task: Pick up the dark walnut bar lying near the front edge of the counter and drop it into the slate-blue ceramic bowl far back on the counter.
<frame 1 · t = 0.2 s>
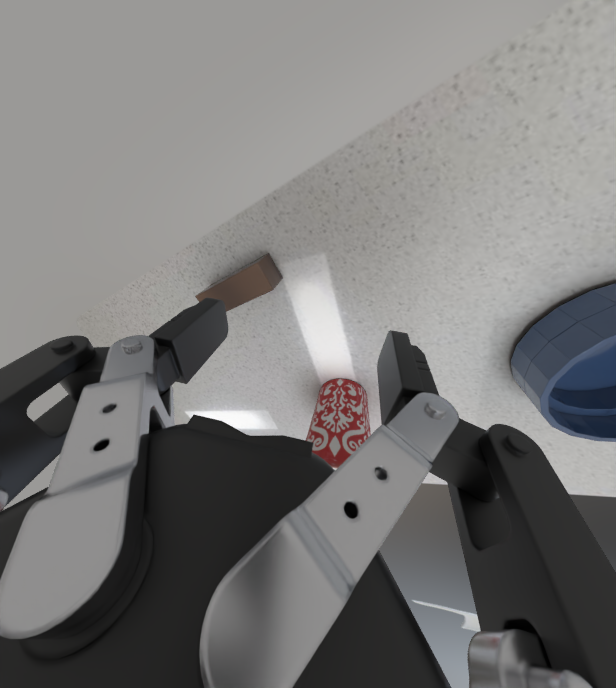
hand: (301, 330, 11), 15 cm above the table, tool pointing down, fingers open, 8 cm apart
bar: (245, 281, 27), on the table
bowl: (599, 346, 23), on the table
mug: (343, 401, 36), on the table
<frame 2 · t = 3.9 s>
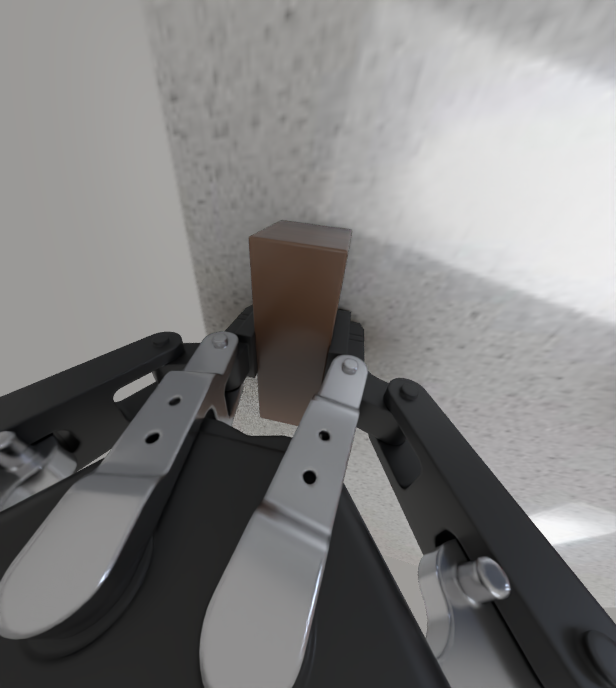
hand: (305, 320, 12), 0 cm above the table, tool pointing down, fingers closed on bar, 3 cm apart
bar: (306, 319, 12), on the table, touching gripper
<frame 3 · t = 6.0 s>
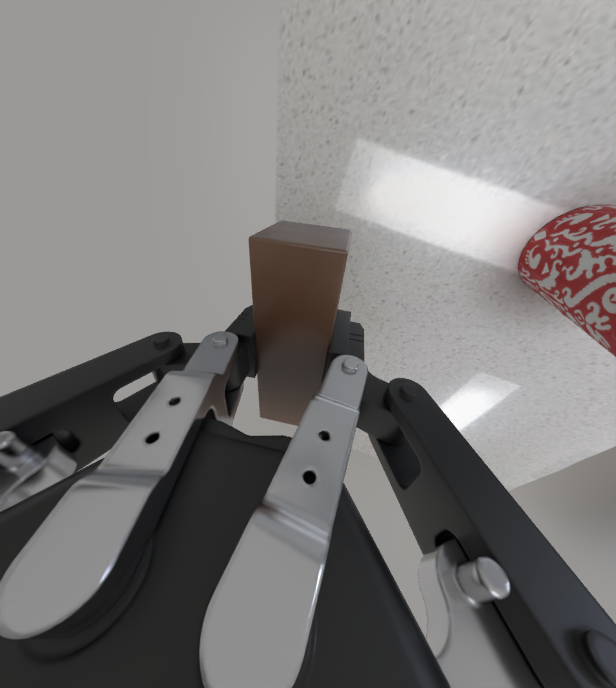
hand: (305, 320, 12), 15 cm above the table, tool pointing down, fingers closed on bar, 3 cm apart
bar: (306, 319, 12), point 15 cm above the table, touching gripper
mug: (580, 260, 21), on the table
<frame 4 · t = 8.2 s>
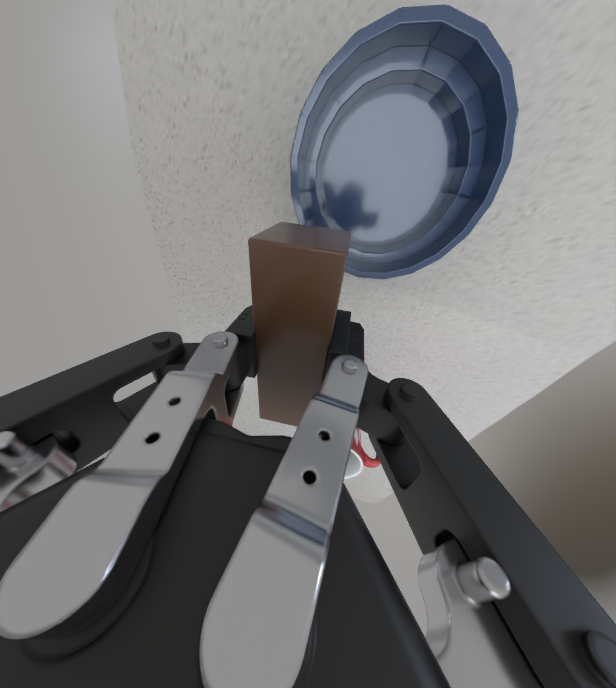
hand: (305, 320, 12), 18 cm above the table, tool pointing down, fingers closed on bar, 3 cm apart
bar: (306, 320, 12), point 17 cm above the table, touching gripper
bowl: (383, 178, 22), on the table
mug: (345, 386, 39), on the table
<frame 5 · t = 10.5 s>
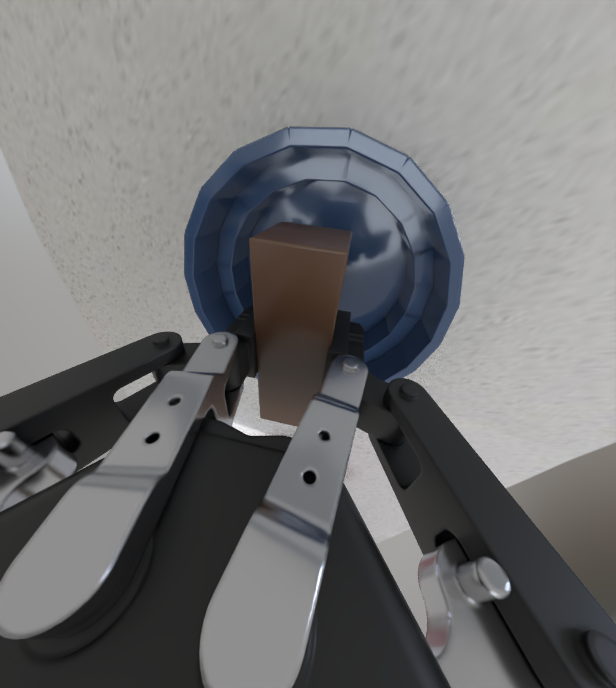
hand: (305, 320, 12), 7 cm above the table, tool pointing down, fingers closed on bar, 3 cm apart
bar: (306, 320, 12), point 7 cm above the table, touching gripper
bowl: (323, 273, 18), on the table
when the fingers open (2 cm above the table, at t = 12.3 s): bar drops 1 cm, resting on bowl.
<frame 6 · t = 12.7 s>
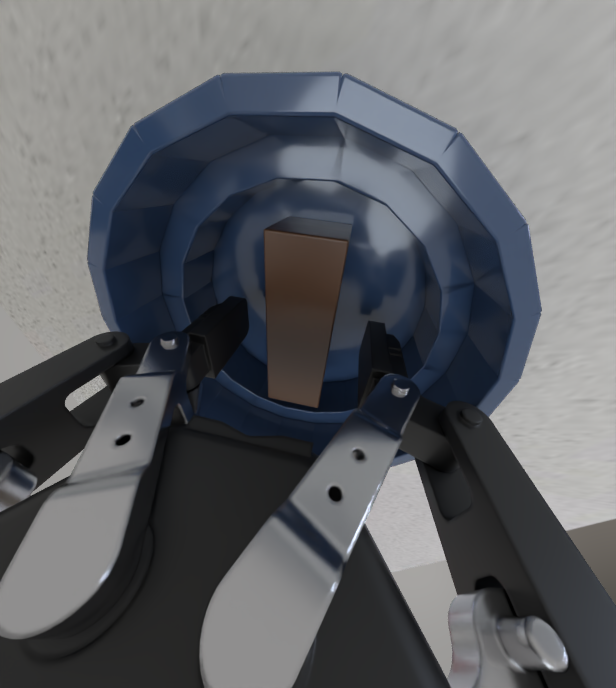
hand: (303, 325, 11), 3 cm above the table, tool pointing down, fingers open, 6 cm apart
bar: (310, 307, 13), point 1 cm above the table, touching bowl
bowl: (312, 302, 13), on the table
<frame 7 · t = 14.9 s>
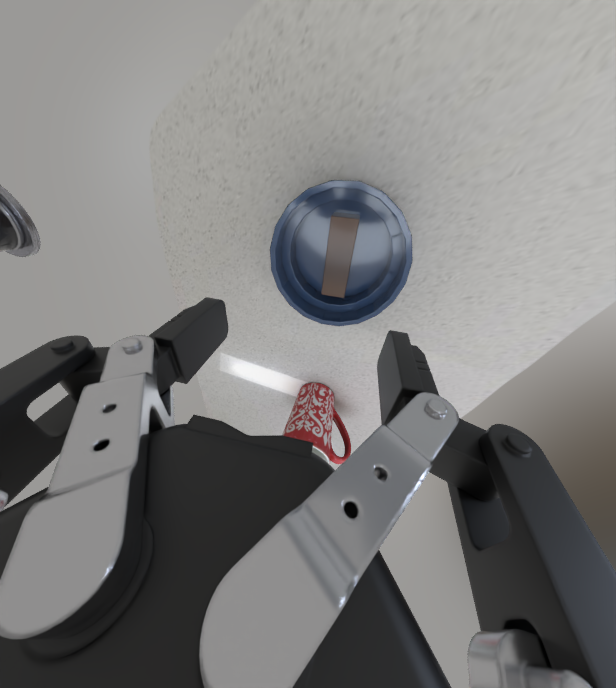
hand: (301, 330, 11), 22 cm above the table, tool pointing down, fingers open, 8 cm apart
bar: (340, 253, 29), point 1 cm above the table, touching bowl
bowl: (341, 252, 29), on the table
mug: (324, 397, 47), on the table
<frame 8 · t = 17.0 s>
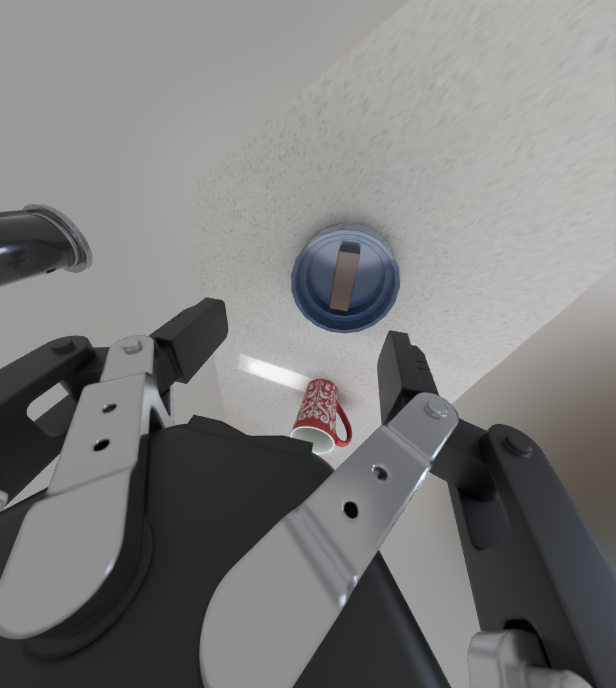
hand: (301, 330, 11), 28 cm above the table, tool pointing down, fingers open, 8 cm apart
bar: (344, 275, 37), point 1 cm above the table, touching bowl
bowl: (345, 274, 37), on the table
mug: (328, 392, 54), on the table
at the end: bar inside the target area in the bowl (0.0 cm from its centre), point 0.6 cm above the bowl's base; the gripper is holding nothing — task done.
